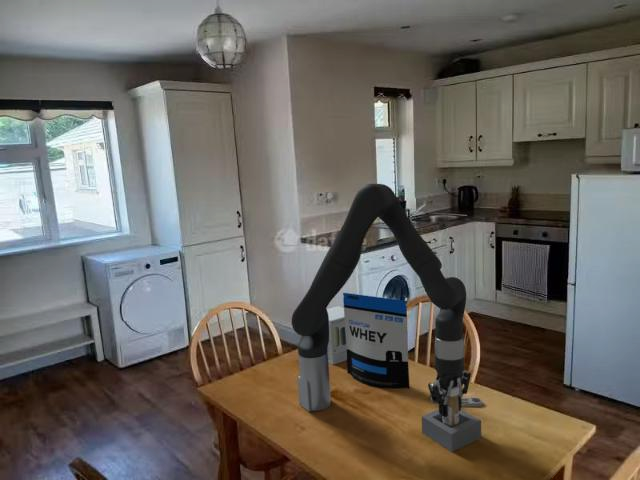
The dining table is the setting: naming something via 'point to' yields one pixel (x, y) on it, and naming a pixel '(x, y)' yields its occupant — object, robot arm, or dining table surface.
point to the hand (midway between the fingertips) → (450, 412)
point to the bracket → (469, 401)
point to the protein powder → (377, 340)
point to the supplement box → (336, 336)
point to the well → (451, 430)
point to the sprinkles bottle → (452, 408)
